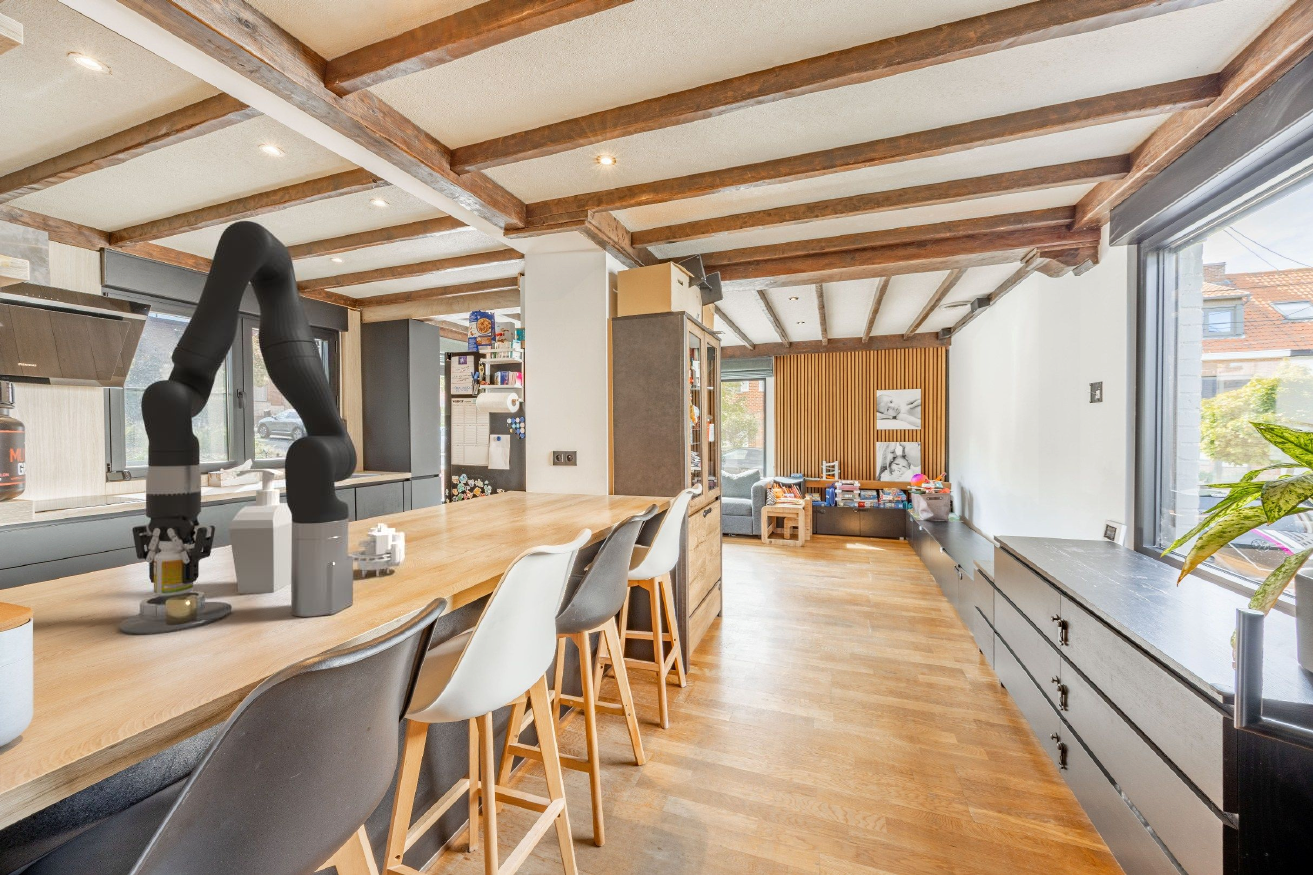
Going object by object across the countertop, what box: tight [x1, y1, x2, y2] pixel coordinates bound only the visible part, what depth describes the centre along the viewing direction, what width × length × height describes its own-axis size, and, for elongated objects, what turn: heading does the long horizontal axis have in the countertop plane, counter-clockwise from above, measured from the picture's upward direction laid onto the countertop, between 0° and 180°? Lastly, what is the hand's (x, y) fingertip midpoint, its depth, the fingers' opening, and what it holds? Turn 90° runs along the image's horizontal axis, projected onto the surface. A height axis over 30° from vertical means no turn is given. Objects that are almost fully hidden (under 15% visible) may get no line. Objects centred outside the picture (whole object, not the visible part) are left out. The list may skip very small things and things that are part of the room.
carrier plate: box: [119, 590, 233, 636], centre depth 96 cm, size 15×15×5 cm
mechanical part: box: [348, 522, 406, 578], centre depth 128 cm, size 11×12×12 cm
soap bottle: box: [228, 468, 292, 594], centre depth 116 cm, size 12×10×26 cm
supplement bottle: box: [153, 541, 194, 597], centre depth 98 cm, size 5×5×10 cm
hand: (173, 581), depth 98 cm, fingers closed on supplement bottle, 5 cm apart
